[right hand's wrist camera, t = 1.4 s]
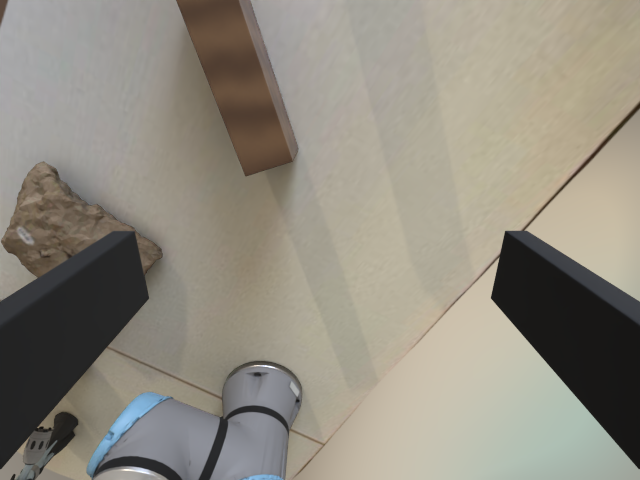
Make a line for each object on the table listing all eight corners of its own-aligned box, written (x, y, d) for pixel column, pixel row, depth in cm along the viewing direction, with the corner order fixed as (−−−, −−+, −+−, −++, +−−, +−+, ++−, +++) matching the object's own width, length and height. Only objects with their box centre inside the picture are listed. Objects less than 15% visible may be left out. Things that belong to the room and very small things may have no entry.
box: (298, 149, 51) (293, 161, 40) (260, 161, 51) (245, 176, 41) (239, -33, 42) (213, -76, 32) (194, -16, 43) (155, -53, 33)
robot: (69, 459, 75) (-13, 577, 57) (46, 453, 74) (-45, 570, 56) (86, 397, 68) (-1, 508, 50) (61, 389, 68) (-37, 499, 49)
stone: (-15, 231, 52) (-42, 244, 46) (48, 156, 51) (27, 161, 46) (116, 304, 61) (106, 322, 55) (171, 241, 60) (167, 254, 54)
